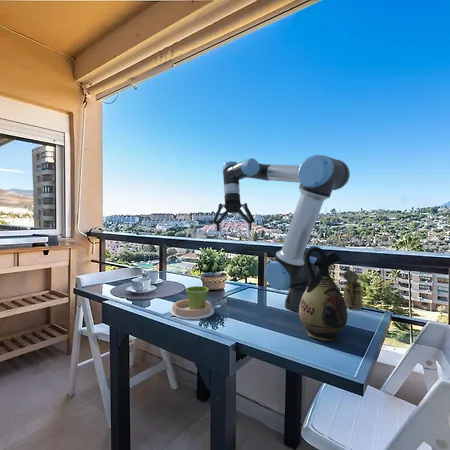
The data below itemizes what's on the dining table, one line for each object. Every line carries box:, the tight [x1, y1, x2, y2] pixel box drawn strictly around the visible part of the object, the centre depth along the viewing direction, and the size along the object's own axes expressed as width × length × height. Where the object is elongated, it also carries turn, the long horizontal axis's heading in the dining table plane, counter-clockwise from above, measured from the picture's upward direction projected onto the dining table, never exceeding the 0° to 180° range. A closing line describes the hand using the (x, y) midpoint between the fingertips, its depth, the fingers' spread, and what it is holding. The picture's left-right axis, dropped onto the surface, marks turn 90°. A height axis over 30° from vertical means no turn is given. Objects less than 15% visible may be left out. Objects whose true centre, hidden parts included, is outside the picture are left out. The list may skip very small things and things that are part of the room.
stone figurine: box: [342, 269, 364, 310], centre depth 128 cm, size 9×14×18 cm, turn 147°
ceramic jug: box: [298, 246, 349, 342], centre depth 98 cm, size 17×15×30 cm
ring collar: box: [169, 298, 215, 320], centre depth 120 cm, size 18×18×3 cm
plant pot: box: [185, 285, 209, 310], centre depth 121 cm, size 9×9×9 cm
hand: (234, 237), depth 138 cm, fingers open, 13 cm apart
